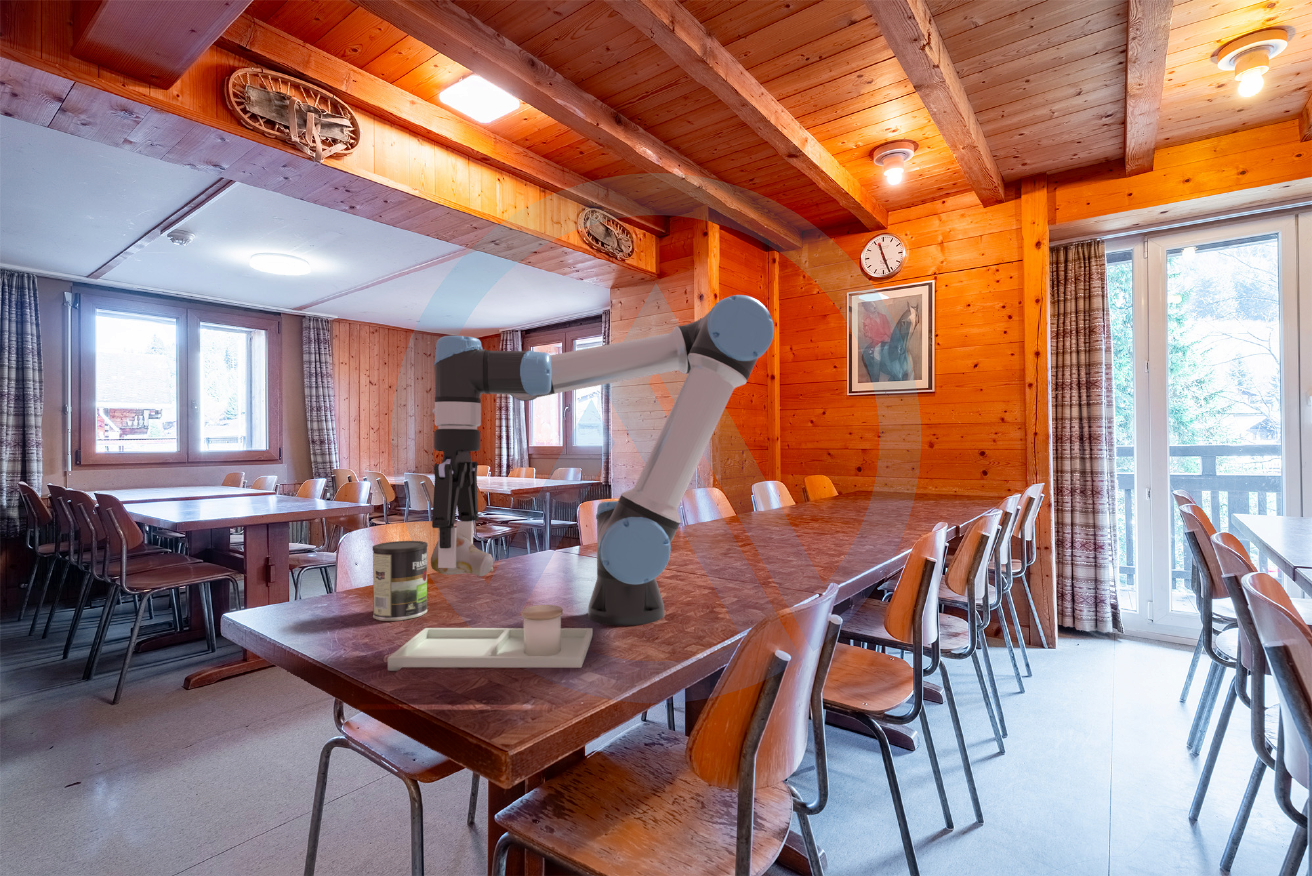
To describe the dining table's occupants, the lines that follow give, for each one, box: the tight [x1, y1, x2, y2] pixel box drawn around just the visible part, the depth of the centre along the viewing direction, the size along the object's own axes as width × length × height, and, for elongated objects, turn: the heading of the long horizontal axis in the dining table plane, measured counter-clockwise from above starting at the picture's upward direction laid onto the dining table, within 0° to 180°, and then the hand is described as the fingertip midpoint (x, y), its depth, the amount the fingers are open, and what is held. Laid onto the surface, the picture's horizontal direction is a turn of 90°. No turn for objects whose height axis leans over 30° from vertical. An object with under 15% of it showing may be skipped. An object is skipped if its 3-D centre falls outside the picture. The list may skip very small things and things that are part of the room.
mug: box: [430, 533, 494, 577], centre depth 103 cm, size 8×10×10 cm
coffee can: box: [372, 540, 429, 622], centre depth 122 cm, size 10×10×14 cm
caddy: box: [387, 627, 593, 672], centre depth 99 cm, size 30×15×2 cm, turn 89°
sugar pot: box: [521, 604, 564, 656], centre depth 99 cm, size 7×7×7 cm
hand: (456, 562), depth 103 cm, fingers closed on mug, 7 cm apart
